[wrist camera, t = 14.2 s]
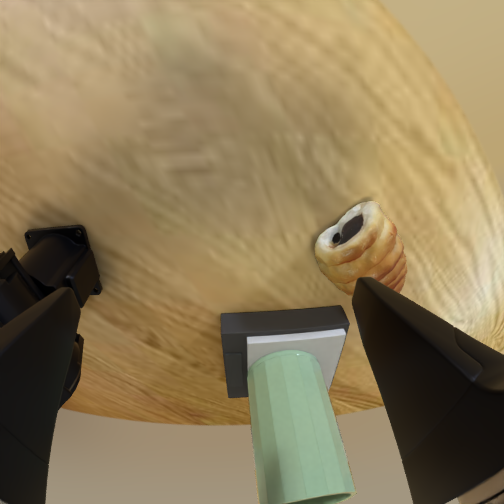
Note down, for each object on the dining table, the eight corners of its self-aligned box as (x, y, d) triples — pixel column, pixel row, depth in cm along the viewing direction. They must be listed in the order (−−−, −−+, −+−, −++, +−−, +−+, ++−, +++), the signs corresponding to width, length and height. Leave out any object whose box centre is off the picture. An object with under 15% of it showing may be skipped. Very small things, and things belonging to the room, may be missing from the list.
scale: (227, 379, 31) (228, 404, 28) (220, 313, 26) (220, 340, 23) (324, 371, 31) (331, 394, 29) (341, 305, 26) (352, 329, 24)
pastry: (412, 263, 25) (433, 287, 22) (357, 306, 27) (371, 334, 24) (367, 189, 21) (390, 208, 18) (299, 244, 23) (311, 271, 20)
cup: (246, 395, 27) (258, 517, 16) (246, 352, 24) (261, 503, 13) (313, 389, 28) (342, 504, 16) (325, 346, 24) (369, 484, 13)
